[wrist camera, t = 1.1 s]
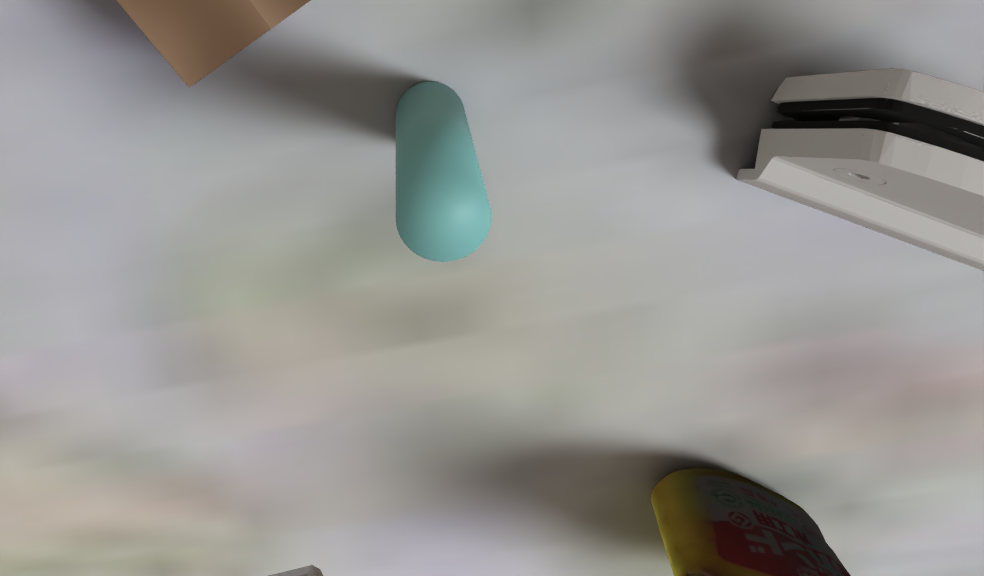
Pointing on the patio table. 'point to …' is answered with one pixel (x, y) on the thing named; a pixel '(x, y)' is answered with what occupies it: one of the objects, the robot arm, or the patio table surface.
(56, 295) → the patio table surface
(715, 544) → the bottle
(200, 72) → the hole block
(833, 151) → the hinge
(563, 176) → the patio table surface
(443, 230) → the peg
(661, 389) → the patio table surface
